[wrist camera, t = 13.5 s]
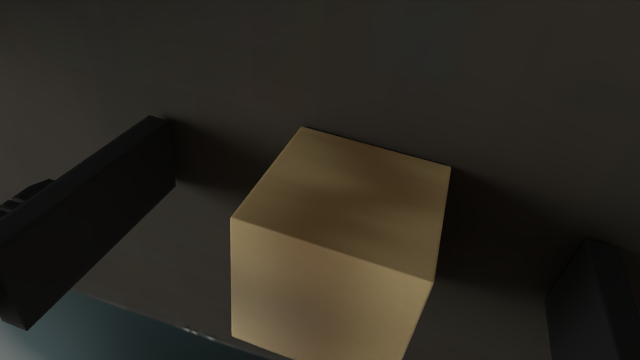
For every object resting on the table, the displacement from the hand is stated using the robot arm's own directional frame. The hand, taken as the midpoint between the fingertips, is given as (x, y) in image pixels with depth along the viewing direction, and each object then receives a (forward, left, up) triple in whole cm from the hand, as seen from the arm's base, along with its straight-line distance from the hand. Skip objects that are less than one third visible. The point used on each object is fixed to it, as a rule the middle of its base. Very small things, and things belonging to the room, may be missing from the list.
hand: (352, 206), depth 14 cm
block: (0, 0, 0) cm, 0 cm away
